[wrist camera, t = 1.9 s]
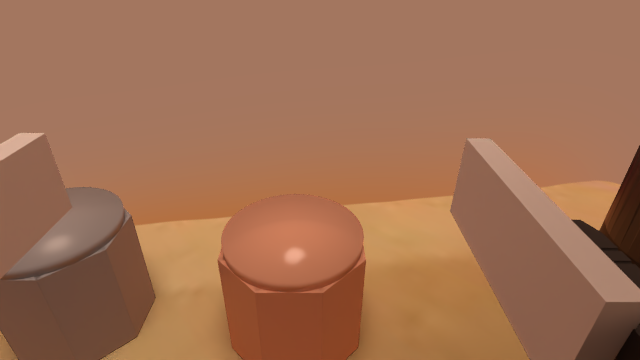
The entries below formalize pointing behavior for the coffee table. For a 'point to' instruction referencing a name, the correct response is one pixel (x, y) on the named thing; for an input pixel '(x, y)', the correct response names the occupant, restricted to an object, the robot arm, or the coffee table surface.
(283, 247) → the octagonal lidded canister
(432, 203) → the coffee table surface
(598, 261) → the robot arm
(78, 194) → the brown octagonal jar
